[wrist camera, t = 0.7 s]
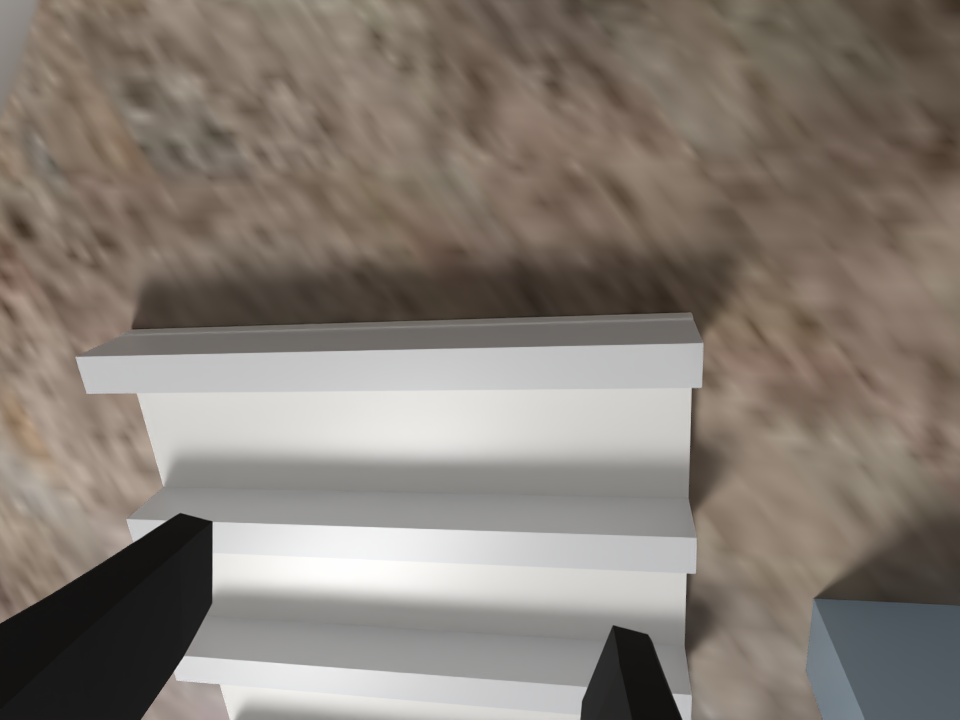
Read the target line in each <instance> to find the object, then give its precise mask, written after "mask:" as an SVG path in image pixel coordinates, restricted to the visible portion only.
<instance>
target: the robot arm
mask: <svg viewBox="0 0 960 720" xmlns="http://www.w3.org/2000/svg"><path fill="white" fill-rule="evenodd" d="M212 589H213V521H210V520H206V519H202V518H198V517H194V516H190V515H187V514H183V513H179V514H177V515H175V516H174V517H172V518H171V519H169V520H167V521H166V522H164V523H163V524H161V525H160V526H158V527H157V528H155V529H153V530H152V531H150V532H149V533H147V534H146V535H144V536H143V537H141V538H140V539H138V540H137V541H135V542H134V543H132V544H130V545H129V546H127V547H126V548H124V549H123V550H121V551H120V552H118V553H117V554H115V555H113V556H112V557H110V558H109V559H107V560H106V561H104V562H103V563H101V564H99V565H98V566H96V567H95V568H93V569H91V570H90V571H88V572H87V573H85V574H83V575H82V576H80V577H78V578H77V579H75V580H74V581H72V582H70V583H69V584H67V585H66V586H64V587H62V588H61V589H59V590H58V591H56V592H54V593H53V594H51V595H49V596H47V597H46V598H44V599H42V600H41V601H39V602H37V603H35V604H34V605H32V606H30V607H28V608H27V609H25V610H23V611H21V612H20V613H18V614H16V615H14V616H13V617H11V618H9V619H7V620H6V621H4V622H2V623H0V720H141V718H142V717H143V716H144V714H145V713H146V711H147V710H148V708H149V707H150V705H151V704H152V703H153V701H154V700H155V698H156V697H157V695H158V694H159V692H160V691H161V690H162V688H163V687H164V685H165V684H166V682H167V681H168V679H169V678H170V676H171V675H172V674H173V672H174V671H175V669H176V668H177V666H178V665H179V663H180V662H181V660H182V659H183V657H184V655H185V653H186V652H187V650H188V648H189V646H190V644H191V643H192V641H193V639H194V637H195V635H196V634H197V632H198V630H199V628H200V626H201V624H202V622H203V620H204V618H205V616H206V615H207V613H208V611H209V609H210V607H211V605H212ZM580 720H683V719H682V717H681V714H680V712H679V710H678V707H677V705H676V702H675V700H674V697H673V695H672V692H671V690H670V687H669V685H668V682H667V680H666V677H665V674H664V672H663V669H662V667H661V664H660V661H659V659H658V656H657V653H656V650H655V648H654V645H653V642H652V640H651V638H650V637H649V635H648V634H645V633H642V632H638V631H634V630H630V629H626V628H622V627H618V626H615V625H613V626H612V628H611V631H610V633H609V636H608V638H607V641H606V643H605V645H604V648H603V650H602V653H601V655H600V658H599V660H598V663H597V665H596V668H595V670H594V673H593V675H592V678H591V680H590V682H589V685H588V687H587V690H586V692H585V695H584V697H583V700H582V706H581V717H580Z"/></svg>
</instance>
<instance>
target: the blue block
mask: <svg viewBox="0 0 960 720" xmlns="http://www.w3.org/2000/svg"><path fill="white" fill-rule="evenodd" d="M806 673H807V676H808V679H809V682H810V684H811V687H812V690H813V693H814V696H815V699H816V701H817V704H818V707H819V710H820V713H821V715H822V718H823V720H960V606H959V605H938V604H917V603H897V602H876V601H855V600H835V599H813V609H812V618H811V627H810V636H809V646H808V655H807V664H806Z"/></svg>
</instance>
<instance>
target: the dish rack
mask: <svg viewBox="0 0 960 720" xmlns="http://www.w3.org/2000/svg"><path fill="white" fill-rule="evenodd" d="M76 360H77V364H78V367H79V370H80V373H81V376H82V380H83V383H84V386H85V389H86V392H87V394H100V393H137V395H138V399H139V402H140V406H141V409H142V413H143V416H144V420H145V423H146V427H147V430H148V434H149V437H150V441H151V444H152V448H153V451H154V455H155V458H156V462H157V466H158V469H159V473H160V476H161V480H162V483H163V488H162V489H161V490H160V491H158V492H157V493H156V494H155V495H154V496H153V497H151V498H150V499H149V500H148V501H147V502H146V503H144V504H143V505H142V506H141V507H140V508H139V509H137V510H136V511H135V512H134V513H133V514H132V515H130V516H129V517H128V518H127V519H126V520H127V523H128V526H129V530H130V533H131V536H132V539H133V542H135V541H137V540H138V539H140V538H141V537H143V536H144V535H146V534H147V533H149V532H150V531H152V530H153V529H155V528H157V527H158V526H160V525H161V524H163V523H164V522H166V521H167V520H169V519H171V518H172V517H174V516H175V515H177V514H179V513H183V514H187V515H190V516H194V517H198V518H202V519H206V520H210V521H213V589H212V605H211V607H210V609H209V611H208V613H207V615H206V616H205V618H204V620H203V622H202V624H201V626H200V628H199V630H198V632H197V634H196V635H195V637H194V639H193V641H192V643H191V644H190V646H189V648H188V650H187V652H186V653H185V655H184V657H183V659H182V660H181V662H180V663H179V665H178V666H177V668H176V669H175V671H174V673H175V676H176V680H177V681H189V682H201V683H212V684H220V687H221V690H222V694H223V697H224V701H225V704H226V708H227V711H228V715H229V718H230V720H580V717H581V706H582V700H583V697H584V695H585V692H586V690H587V687H588V685H589V682H590V680H591V678H592V675H593V673H594V670H595V668H596V665H597V663H598V660H599V658H600V655H601V653H602V650H603V648H604V645H605V643H606V641H607V638H608V636H609V633H610V631H611V628H612V626H613V625H615V626H618V627H622V628H626V629H630V630H634V631H638V632H642V633H645V634H648V635H649V637H650V638H651V640H652V642H653V645H654V648H655V650H656V653H657V656H658V659H659V661H660V664H661V667H662V669H663V672H664V674H665V677H666V680H667V682H668V685H669V687H670V690H671V692H672V695H673V697H674V700H675V702H676V705H677V707H678V710H679V712H680V714H681V717H682V719H683V720H691V702H692V693H691V687H690V680H689V673H688V666H687V659H686V653H685V611H686V574H687V573H691V574H696V551H697V536H696V531H695V526H694V522H693V517H692V512H691V508H690V503H689V464H690V427H691V390H692V388H702V369H703V341H702V339H701V336H700V334H699V332H698V329H697V327H696V324H695V322H694V320H693V315H692V313H691V312H689V313H657V314H624V315H591V316H558V317H526V318H493V319H460V320H427V321H395V322H362V323H329V324H296V325H263V326H231V327H198V328H165V329H132V330H128V331H126V332H124V333H122V334H120V336H119V337H117V338H115V339H112V340H110V341H108V342H106V343H104V344H102V345H100V346H98V347H95V348H93V349H91V350H89V351H87V352H85V353H83V354H80V355H78V356H76Z"/></svg>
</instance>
